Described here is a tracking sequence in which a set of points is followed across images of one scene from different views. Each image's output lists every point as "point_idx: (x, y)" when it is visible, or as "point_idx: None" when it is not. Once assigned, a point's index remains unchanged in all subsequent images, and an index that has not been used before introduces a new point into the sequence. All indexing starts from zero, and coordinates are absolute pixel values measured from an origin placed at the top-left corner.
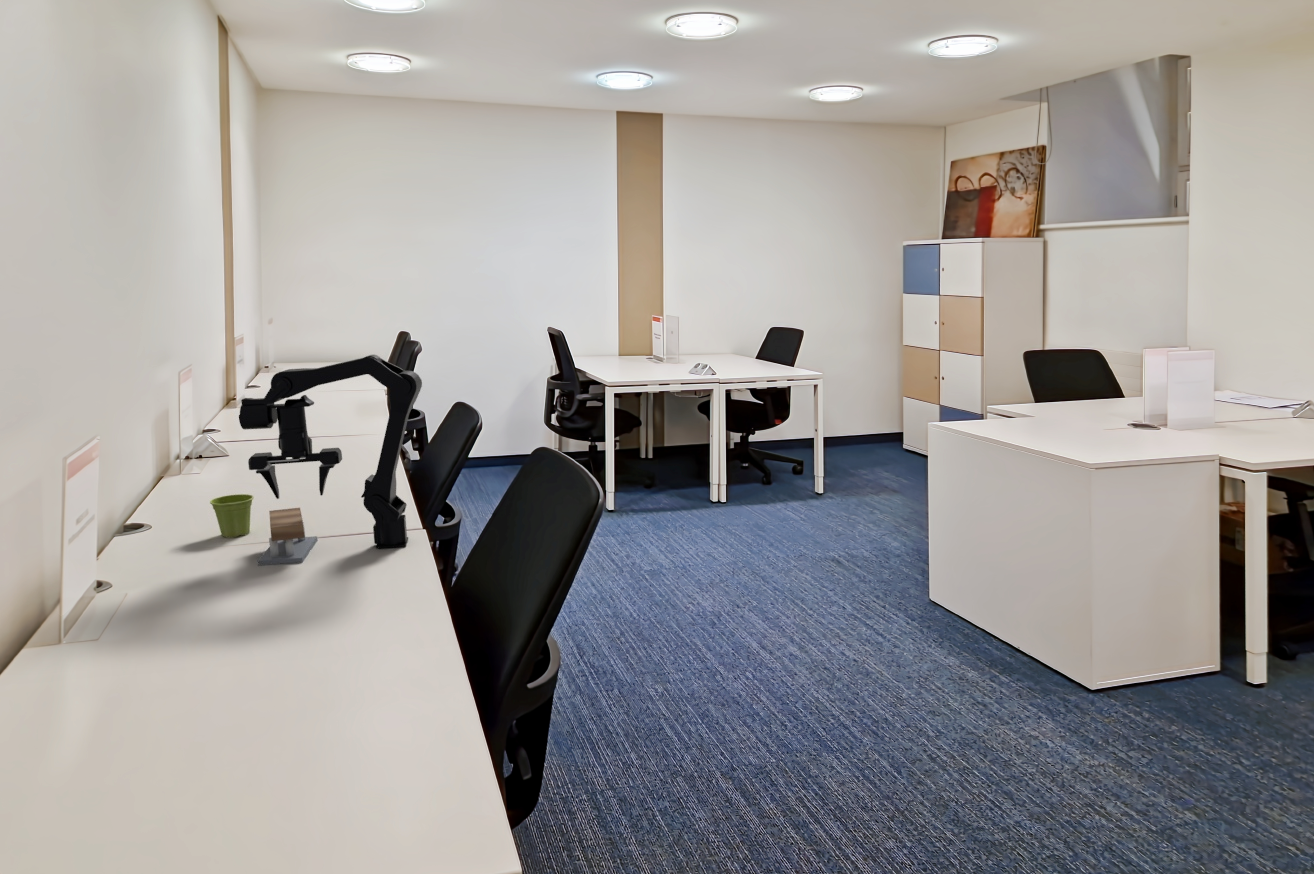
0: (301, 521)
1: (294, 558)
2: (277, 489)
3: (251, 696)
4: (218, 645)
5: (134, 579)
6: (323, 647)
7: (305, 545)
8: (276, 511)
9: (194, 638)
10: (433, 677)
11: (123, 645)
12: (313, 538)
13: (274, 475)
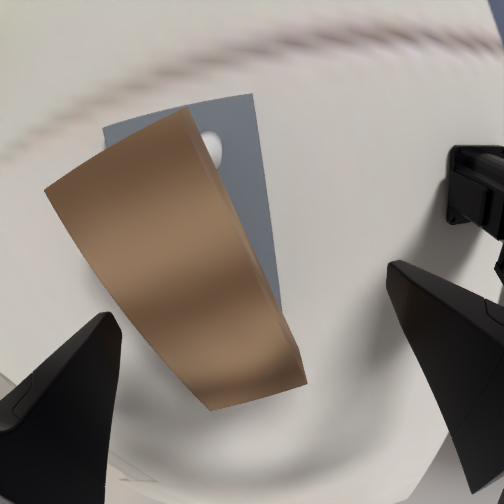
0: (292, 364)
1: None
2: (101, 373)
3: (324, 500)
4: (275, 486)
5: (14, 367)
6: (360, 475)
7: (251, 215)
8: (83, 202)
9: (246, 484)
10: (417, 471)
11: (190, 487)
12: (248, 124)
13: (47, 449)
